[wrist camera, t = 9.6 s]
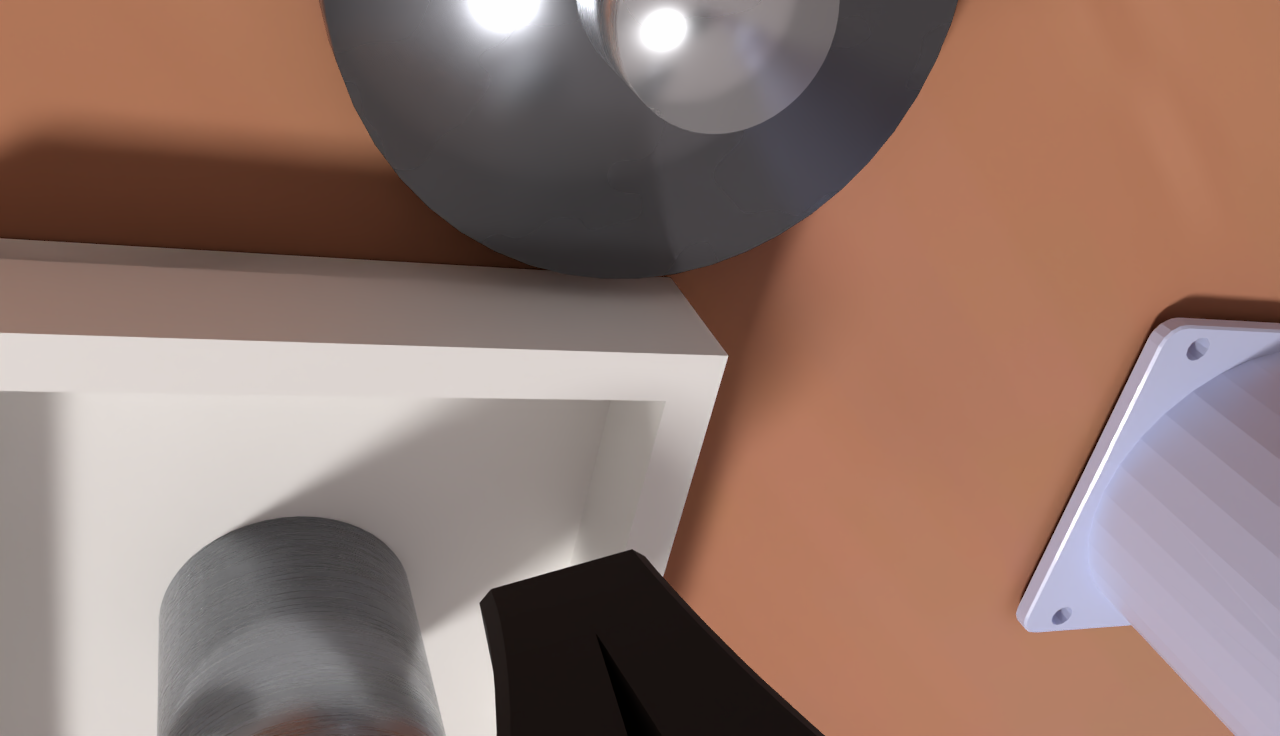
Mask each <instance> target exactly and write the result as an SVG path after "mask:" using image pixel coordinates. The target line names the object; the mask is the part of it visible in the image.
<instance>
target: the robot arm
mask: <svg viewBox="0 0 1280 736" xmlns="http://www.w3.org/2000/svg"><path fill="white" fill-rule="evenodd" d="M479 604H480V609H481V614H482V619H483V624H484V629H485V634H486V639H487V644H488V649H489V654H490V659H491V663H492V668H493V675H494V687H495V708H496V731H497V736H825V735H823V734H822V733H821V732H820V731H819V730H818V729H817V728H815V727H814V726H813V725H812V724H811V723H810V722H809V721H808V720H807V719H806V718H804V717H803V716H802V715H801V714H800V713H799V712H798V711H797V710H796V709H795V708H793V707H792V706H791V705H790V704H789V703H788V702H787V701H786V700H785V699H784V698H782V697H781V696H780V695H779V694H778V693H777V692H776V691H775V690H774V689H772V688H771V687H770V686H769V685H768V684H767V683H766V682H765V681H764V680H763V679H762V678H761V677H759V676H758V675H757V674H756V673H755V672H754V671H753V670H752V669H751V668H750V667H749V666H748V665H747V664H746V663H745V662H744V661H743V660H742V659H741V658H740V657H739V656H738V655H737V654H736V653H735V652H734V651H733V650H732V649H731V648H730V647H729V646H728V645H727V644H726V643H725V642H724V641H723V640H722V639H721V638H720V637H719V636H718V635H717V634H716V633H715V632H714V631H713V630H712V629H711V628H710V627H709V626H708V625H707V624H706V623H705V622H704V621H703V620H702V619H701V618H700V617H699V616H698V615H697V614H696V613H695V612H694V611H693V610H692V609H691V607H690V606H689V605H688V604H687V603H686V602H685V601H684V600H683V599H682V598H681V597H680V596H679V595H678V593H677V592H676V591H675V590H674V589H673V588H672V587H671V586H670V585H669V583H668V582H667V581H666V580H665V579H664V578H663V577H662V576H661V574H660V573H659V572H658V571H657V570H656V569H655V567H654V566H653V565H652V564H651V563H650V561H649V560H648V559H647V558H646V557H645V556H644V555H642V554H640V553H638V552H636V551H635V550H633V549H631V550H627V551H624V552H620V553H616V554H613V555H609V556H606V557H602V558H599V559H595V560H592V561H588V562H585V563H581V564H578V565H574V566H571V567H567V568H563V569H560V570H556V571H553V572H549V573H546V574H542V575H539V576H535V577H532V578H528V579H525V580H521V581H518V582H514V583H510V584H507V585H503V586H500V587H496V588H493V589H491V590H490V591H489V592H488V593H487V594H486V596H485V597H484V598H483V599H482V600H481V602H480V603H479ZM1016 616H1017V620H1018V621H1019V622H1020V623H1021V624H1022V626H1023V627H1024V628H1025V629H1026V630H1027V631H1029V632H1047V631H1060V630H1073V629H1086V628H1099V627H1112V626H1125V625H1132V626H1133V627H1134V628H1135V629H1136V630H1137V631H1138V632H1139V634H1140V635H1141V636H1142V637H1143V638H1144V639H1145V640H1146V641H1147V642H1148V643H1149V644H1150V645H1151V646H1152V647H1153V648H1154V650H1155V651H1156V652H1157V653H1158V654H1159V655H1160V656H1161V657H1162V658H1163V659H1164V660H1165V661H1166V662H1167V663H1168V665H1169V666H1170V667H1171V668H1172V669H1173V670H1174V671H1175V672H1176V673H1177V674H1178V675H1179V676H1180V677H1181V678H1182V679H1183V681H1184V682H1185V683H1186V684H1187V685H1188V686H1189V687H1190V688H1191V689H1192V690H1193V691H1194V692H1195V693H1196V694H1197V696H1198V697H1199V698H1200V699H1201V700H1202V701H1203V702H1204V703H1205V704H1206V705H1207V706H1208V707H1209V708H1210V709H1211V710H1212V712H1213V713H1214V714H1215V715H1216V716H1217V717H1218V718H1219V719H1220V720H1221V721H1222V722H1223V723H1224V724H1225V725H1226V727H1227V728H1228V729H1229V730H1230V731H1231V732H1232V733H1233V734H1234V735H1235V736H1280V323H1270V322H1251V321H1233V320H1214V319H1196V318H1172V319H1169V320H1167V321H1165V322H1163V323H1161V324H1160V325H1158V326H1157V327H1156V328H1155V329H1154V330H1153V332H1152V333H1151V335H1150V336H1149V338H1148V340H1147V342H1146V344H1145V346H1144V348H1143V350H1142V352H1141V354H1140V356H1139V358H1138V360H1137V362H1136V364H1135V367H1134V369H1133V371H1132V373H1131V375H1130V377H1129V379H1128V381H1127V383H1126V385H1125V387H1124V389H1123V391H1122V393H1121V395H1120V397H1119V400H1118V402H1117V404H1116V406H1115V408H1114V410H1113V412H1112V414H1111V416H1110V418H1109V420H1108V422H1107V424H1106V426H1105V428H1104V430H1103V433H1102V435H1101V437H1100V439H1099V441H1098V443H1097V445H1096V447H1095V449H1094V451H1093V453H1092V455H1091V457H1090V459H1089V461H1088V463H1087V466H1086V468H1085V470H1084V472H1083V474H1082V476H1081V478H1080V480H1079V482H1078V484H1077V486H1076V488H1075V490H1074V492H1073V494H1072V497H1071V499H1070V501H1069V503H1068V505H1067V507H1066V509H1065V511H1064V513H1063V515H1062V517H1061V519H1060V521H1059V523H1058V525H1057V527H1056V530H1055V532H1054V534H1053V536H1052V538H1051V540H1050V542H1049V544H1048V546H1047V548H1046V550H1045V552H1044V554H1043V556H1042V558H1041V560H1040V563H1039V565H1038V567H1037V569H1036V571H1035V573H1034V575H1033V577H1032V579H1031V581H1030V583H1029V585H1028V587H1027V589H1026V591H1025V593H1024V596H1023V598H1022V600H1021V602H1020V604H1019V606H1018V609H1017V613H1016Z"/></svg>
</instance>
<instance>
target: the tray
mask: <svg viewBox="0 0 1280 736" xmlns="http://www.w3.org/2000/svg"><path fill="white" fill-rule="evenodd" d="M727 359H728V355H727V353H726V352H725V350H724V349H723V348H722V346H721V345H720V344H719V342H718V341H717V340H716V338H715V337H714V336H713V334H712V333H711V332H710V330H709V329H708V327H707V326H706V325H705V323H704V322H703V321H702V319H701V318H700V317H699V315H698V314H697V313H696V311H695V310H694V308H693V307H692V306H691V304H690V303H689V302H688V300H687V299H686V298H685V296H684V295H683V294H682V292H681V291H680V290H679V288H678V287H677V285H676V284H675V283H674V281H673V280H672V279H671V278H669V277H647V278H639V279H600V278H592V277H583V276H575V275H567V274H562V273H558V272H554V271H549V270H532V269H515V268H498V267H481V266H464V265H447V264H430V263H413V262H396V261H379V260H362V259H345V258H328V257H311V256H294V255H276V254H259V253H242V252H225V251H208V250H191V249H174V248H157V247H140V246H123V245H106V244H89V243H72V242H55V241H38V240H21V239H4V238H0V736H157V712H158V642H159V614H160V607H161V604H162V600H163V597H164V594H165V592H166V590H167V588H168V586H169V584H170V582H171V581H172V579H173V578H174V576H175V575H176V574H177V572H178V571H179V569H180V568H181V567H182V566H183V565H184V564H185V563H186V562H187V561H188V560H189V559H190V558H191V557H192V556H193V555H195V554H196V553H197V552H198V551H199V550H201V549H202V548H203V547H205V546H206V545H208V544H209V543H211V542H212V541H214V540H216V539H217V538H219V537H221V536H223V535H225V534H227V533H229V532H231V531H234V530H236V529H239V528H241V527H244V526H247V525H250V524H253V523H257V522H261V521H264V520H270V519H276V518H282V517H296V516H306V517H321V518H328V519H334V520H338V521H342V522H345V523H349V524H351V525H354V526H356V527H359V528H362V529H363V530H365V531H367V532H369V533H371V534H373V535H374V536H376V537H377V538H378V539H380V540H381V541H382V542H384V543H385V544H386V545H387V546H388V547H389V548H390V549H391V550H392V551H393V552H394V553H395V555H396V556H397V558H398V559H399V560H400V562H401V564H402V566H403V568H404V570H405V572H406V575H407V578H408V582H409V586H410V590H411V594H412V598H413V602H414V606H415V610H416V614H417V619H418V623H419V627H420V631H421V635H422V639H423V643H424V647H425V651H426V656H427V660H428V664H429V668H430V672H431V676H432V680H433V684H434V689H435V693H436V697H437V701H438V705H439V709H440V713H441V717H442V721H443V726H444V730H445V734H446V736H497V731H496V708H495V687H494V675H493V668H492V663H491V659H490V654H489V649H488V644H487V639H486V634H485V629H484V624H483V619H482V614H481V609H480V604H479V603H480V602H481V600H482V599H483V598H484V597H485V596H486V594H487V593H488V592H489V591H490V590H491V589H493V588H496V587H500V586H503V585H507V584H510V583H514V582H518V581H521V580H525V579H528V578H532V577H535V576H539V575H542V574H546V573H549V572H553V571H556V570H560V569H563V568H567V567H571V566H574V565H578V564H581V563H585V562H588V561H592V560H595V559H599V558H602V557H606V556H609V555H613V554H616V553H620V552H624V551H627V550H631V549H633V550H635V551H636V552H638V553H640V554H642V555H644V556H645V557H646V558H647V559H648V560H649V561H650V563H651V564H652V565H653V566H654V567H655V569H656V570H657V571H658V572H659V573H660V574H661V576H662V577H663V575H664V572H665V569H666V565H667V562H668V559H669V555H670V552H671V548H672V545H673V542H674V538H675V535H676V531H677V528H678V525H679V521H680V518H681V515H682V511H683V508H684V504H685V501H686V498H687V494H688V491H689V488H690V484H691V481H692V477H693V474H694V471H695V467H696V464H697V460H698V457H699V454H700V450H701V447H702V444H703V440H704V437H705V433H706V430H707V427H708V423H709V420H710V416H711V413H712V410H713V406H714V403H715V400H716V396H717V393H718V389H719V386H720V383H721V379H722V376H723V373H724V369H725V366H726V362H727Z"/></svg>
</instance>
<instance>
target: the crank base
mask: <svg viewBox="0 0 1280 736" xmlns="http://www.w3.org/2000/svg"><path fill="white" fill-rule="evenodd" d="M957 2H958V0H840V3H839V14H838V21H837V26H836V31H835V34H834V37H833V41H832V44H831V47H830V49H829V51H828V53H827V56H826V58H825V60H824V62H823V64H822V66H821V67H820V69H819V71H818V72H817V74H816V75H815V77H814V78H813V80H812V81H811V82H810V84H809V85H808V86H807V88H806V89H805V90H804V91H803V92H802V93H801V94H800V95H799V96H798V97H797V98H796V99H795V100H794V101H793V102H792V103H791V104H790V105H788V106H787V107H786V108H785V109H783V110H782V111H781V112H779V113H778V114H776V115H775V116H773V117H771V118H770V119H768V120H766V121H764V122H762V123H760V124H758V125H755V126H753V127H750V128H748V129H744V130H740V131H737V132H731V133H724V134H704V133H696V132H692V131H688V130H685V129H681V128H679V127H677V126H675V125H672V124H670V123H668V122H667V121H665V120H664V119H662V118H660V117H659V116H658V115H656V114H655V113H654V112H653V111H652V110H651V109H650V108H648V107H647V106H646V104H645V103H644V102H643V101H642V100H641V99H640V98H639V97H638V96H637V95H636V94H635V93H634V92H633V91H632V90H631V88H630V87H629V86H628V85H627V84H626V83H625V82H624V81H623V80H622V79H621V78H620V77H619V76H618V75H617V74H616V72H615V71H614V70H613V69H612V68H611V67H610V66H609V65H608V64H607V63H606V62H605V61H604V60H603V58H602V57H601V56H600V55H599V54H598V53H597V51H596V50H595V49H594V47H593V46H592V44H591V42H590V41H589V39H588V37H587V35H586V33H585V31H584V28H583V26H582V23H581V19H580V16H579V12H578V6H577V0H319V3H320V7H321V11H322V15H323V19H324V23H325V27H326V31H327V36H328V40H329V43H330V45H331V48H332V51H333V53H334V56H335V59H336V62H337V64H338V67H339V69H340V72H341V75H342V77H343V80H344V82H345V85H346V87H347V90H348V92H349V95H350V98H351V100H352V103H353V105H354V107H355V109H356V111H357V113H358V115H359V116H360V118H361V120H362V122H363V124H364V125H365V127H366V129H367V131H368V133H369V135H370V136H371V138H372V140H373V142H374V144H375V145H376V147H377V148H378V149H379V151H380V152H381V153H382V155H383V156H384V157H385V159H386V160H387V161H388V163H389V164H390V165H391V167H392V168H393V169H394V171H395V172H396V173H397V175H398V176H399V177H400V179H401V180H402V181H403V182H404V183H405V184H406V185H407V186H408V187H409V188H410V189H411V190H412V191H413V192H414V193H415V194H416V195H417V196H418V197H419V198H420V199H421V200H422V201H423V202H424V203H425V204H426V205H427V206H428V207H429V208H430V209H432V210H433V211H434V212H435V213H437V214H438V215H439V216H441V217H442V218H443V219H445V220H446V221H447V222H448V223H450V224H451V225H452V226H454V227H455V228H456V229H458V230H459V231H460V232H462V233H464V234H465V235H467V236H469V237H471V238H472V239H474V240H476V241H478V242H479V243H481V244H483V245H485V246H486V247H488V248H490V249H492V250H493V251H496V252H498V253H500V254H503V255H505V256H508V257H510V258H513V259H515V260H518V261H520V262H523V263H525V264H528V265H531V266H535V267H539V268H543V269H547V270H550V271H554V272H558V273H562V274H567V275H575V276H583V277H592V278H600V279H639V278H647V277H655V276H663V275H670V274H677V273H681V272H685V271H689V270H693V269H697V268H701V267H705V266H709V265H712V264H715V263H717V262H720V261H723V260H725V259H728V258H731V257H733V256H736V255H739V254H741V253H744V252H747V251H749V250H750V249H752V248H754V247H756V246H758V245H760V244H762V243H764V242H766V241H768V240H770V239H772V238H774V237H776V236H778V235H780V234H781V233H783V232H784V231H786V230H788V229H789V228H791V227H792V226H794V225H795V224H797V223H798V222H800V221H801V220H803V219H804V218H806V217H808V216H809V215H811V214H812V213H813V212H814V211H816V210H817V209H818V208H819V207H821V206H822V205H823V204H824V203H826V202H827V201H828V200H829V199H830V198H832V197H833V196H834V195H835V194H837V193H838V192H839V191H840V190H842V189H843V188H844V187H845V186H846V185H847V184H848V183H849V182H850V181H851V180H852V179H853V178H854V177H855V176H856V175H857V174H858V173H859V172H860V171H861V170H862V169H863V168H864V167H865V166H866V165H867V164H868V163H869V161H870V160H871V159H872V158H873V157H874V155H875V154H876V153H877V152H878V150H879V149H880V148H881V147H882V146H883V144H884V143H885V142H886V141H887V139H888V138H889V137H890V136H891V135H892V133H893V132H894V131H895V129H896V128H897V126H898V125H899V123H900V122H901V120H902V119H903V117H904V116H905V114H906V113H907V111H908V110H909V108H910V107H911V105H912V104H913V102H914V101H915V99H916V98H917V96H918V94H919V92H920V90H921V88H922V86H923V84H924V83H925V81H926V79H927V77H928V75H929V73H930V71H931V69H932V67H933V65H934V64H935V62H936V59H937V57H938V55H939V52H940V50H941V47H942V45H943V42H944V40H945V37H946V35H947V32H948V30H949V27H950V25H951V22H952V19H953V15H954V12H955V9H956V5H957Z"/></svg>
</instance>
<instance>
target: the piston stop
mask: <svg viewBox="0 0 1280 736" xmlns="http://www.w3.org/2000/svg"><path fill="white" fill-rule="evenodd" d="M157 736H446V734H445V730H444V726H443V721H442V717H441V713H440V709H439V705H438V701H437V697H436V693H435V689H434V684H433V680H432V676H431V672H430V668H429V664H428V660H427V656H426V651H425V647H424V643H423V639H422V635H421V631H420V627H419V623H418V619H417V614H416V610H415V606H414V602H413V598H412V594H411V590H410V586H409V582H408V578H407V575H406V572H405V570H404V568H403V566H402V564H401V562H400V560H399V559H398V558H397V556H396V555H395V553H394V552H393V551H392V550H391V549H390V548H389V547H388V546H387V545H386V544H385V543H384V542H382V541H381V540H380V539H378V538H377V537H376V536H374V535H373V534H371V533H369V532H367V531H365V530H363V529H362V528H359V527H356V526H354V525H351V524H349V523H345V522H342V521H338V520H334V519H328V518H321V517H306V516H296V517H282V518H276V519H270V520H264V521H261V522H257V523H253V524H250V525H247V526H244V527H241V528H239V529H236V530H234V531H231V532H229V533H227V534H225V535H223V536H221V537H219V538H217V539H216V540H214V541H212V542H211V543H209V544H208V545H206V546H205V547H203V548H202V549H201V550H199V551H198V552H197V553H196V554H195V555H193V556H192V557H191V558H190V559H189V560H188V561H187V562H186V563H185V564H184V565H183V566H182V567H181V568H180V569H179V571H178V572H177V574H176V575H175V576H174V578H173V579H172V581H171V582H170V584H169V586H168V588H167V590H166V592H165V594H164V597H163V600H162V604H161V607H160V614H159V642H158V712H157Z"/></svg>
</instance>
